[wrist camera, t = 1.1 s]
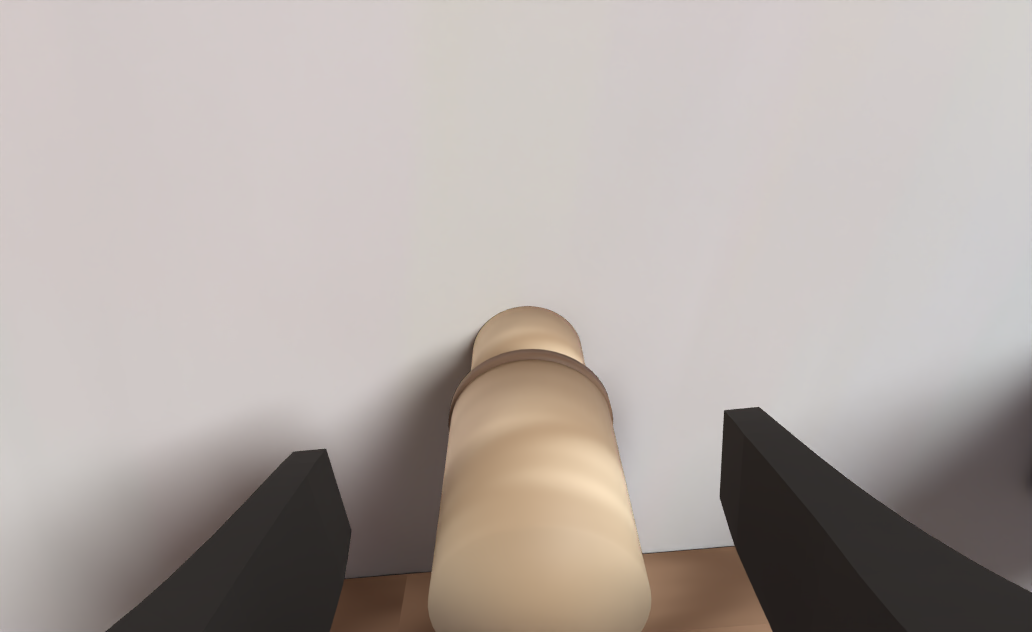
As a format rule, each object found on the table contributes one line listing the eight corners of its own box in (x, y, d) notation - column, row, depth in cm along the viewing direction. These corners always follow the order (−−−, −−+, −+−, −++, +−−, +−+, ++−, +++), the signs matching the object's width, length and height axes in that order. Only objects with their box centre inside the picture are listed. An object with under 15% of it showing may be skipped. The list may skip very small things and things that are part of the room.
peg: (593, 285, 15) (654, 513, 8) (599, 404, 16) (656, 671, 10) (447, 300, 15) (404, 534, 9) (468, 417, 16) (444, 687, 10)
